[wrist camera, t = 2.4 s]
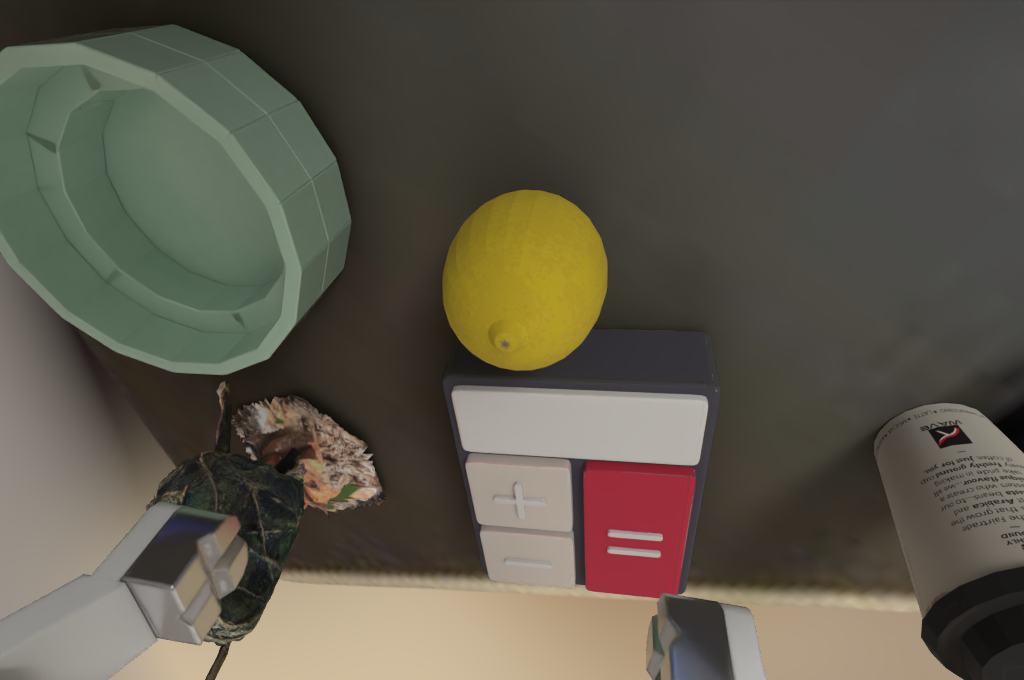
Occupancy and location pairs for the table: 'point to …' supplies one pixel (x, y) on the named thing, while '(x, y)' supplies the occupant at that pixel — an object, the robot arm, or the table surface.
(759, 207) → the table surface
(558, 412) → the calculator
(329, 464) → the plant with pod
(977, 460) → the coffee cup
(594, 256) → the lemon
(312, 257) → the bowl
